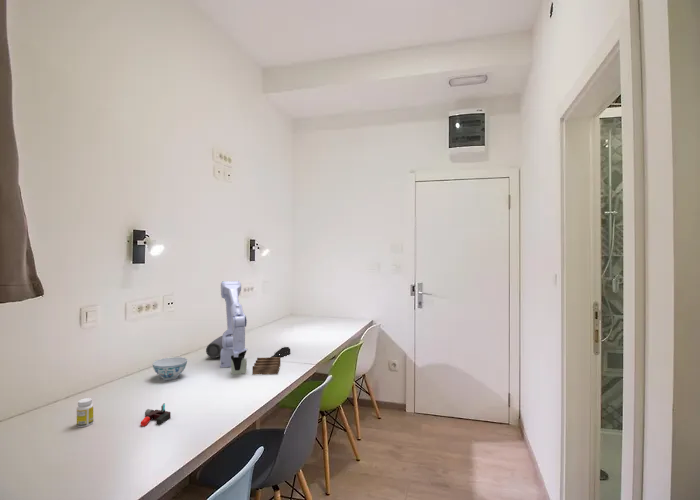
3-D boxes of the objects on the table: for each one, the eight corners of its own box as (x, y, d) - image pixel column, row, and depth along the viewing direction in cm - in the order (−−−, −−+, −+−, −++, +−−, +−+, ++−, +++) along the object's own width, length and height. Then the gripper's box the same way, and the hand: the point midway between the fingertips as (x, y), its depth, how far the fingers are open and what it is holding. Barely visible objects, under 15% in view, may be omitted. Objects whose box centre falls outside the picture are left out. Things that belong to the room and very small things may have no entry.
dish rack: (252, 374, 187) (252, 366, 187) (257, 365, 202) (257, 357, 202) (277, 374, 188) (277, 365, 188) (280, 364, 203) (280, 357, 203)
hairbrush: (260, 358, 207) (280, 345, 231) (260, 365, 207) (280, 351, 231) (274, 359, 205) (293, 345, 229) (274, 366, 205) (293, 352, 229)
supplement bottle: (90, 420, 137) (90, 396, 137) (95, 423, 134) (95, 399, 134) (74, 424, 133) (74, 400, 133) (79, 428, 130) (79, 404, 130)
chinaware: (174, 384, 174) (174, 367, 174) (144, 381, 177) (144, 365, 177) (193, 373, 188) (193, 357, 188) (166, 371, 191) (166, 356, 191)
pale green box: (231, 374, 188) (231, 359, 188) (232, 373, 190) (232, 358, 190) (245, 374, 188) (245, 359, 188) (246, 372, 190) (246, 358, 190)
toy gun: (148, 413, 143) (148, 400, 143) (174, 418, 140) (174, 404, 140) (126, 425, 134) (126, 411, 134) (153, 430, 130) (153, 415, 130)
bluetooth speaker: (221, 360, 211) (221, 342, 211) (204, 360, 211) (205, 342, 211) (235, 349, 234) (235, 333, 234) (219, 349, 234) (219, 333, 234)
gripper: (244, 343, 182) (244, 372, 182) (249, 336, 197) (249, 363, 197) (229, 344, 182) (229, 372, 182) (235, 337, 196) (235, 363, 196)
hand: (238, 368), depth 189 cm, fingers open, 6 cm apart
